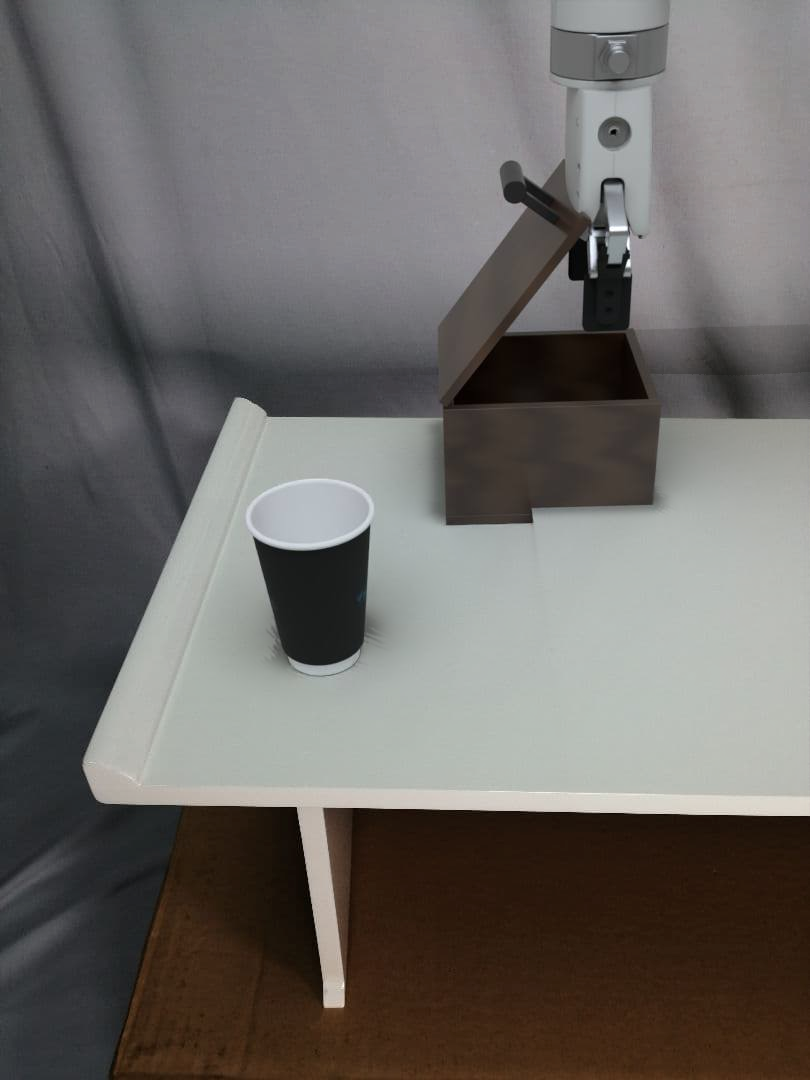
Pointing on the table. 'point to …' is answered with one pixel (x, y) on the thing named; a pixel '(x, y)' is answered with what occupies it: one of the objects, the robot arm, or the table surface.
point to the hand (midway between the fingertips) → (596, 303)
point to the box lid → (508, 274)
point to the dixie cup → (315, 568)
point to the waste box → (552, 427)
